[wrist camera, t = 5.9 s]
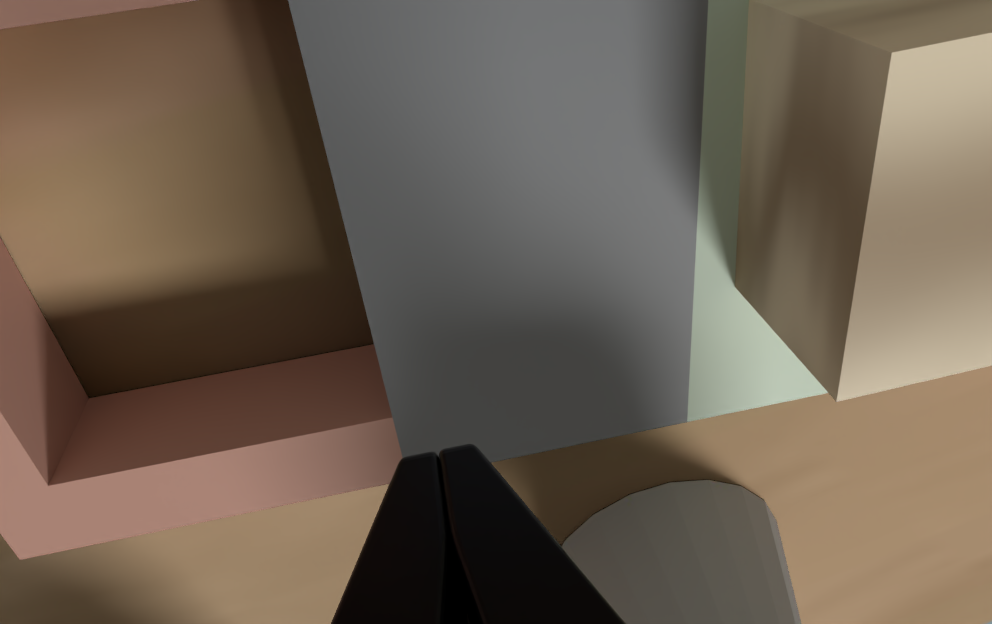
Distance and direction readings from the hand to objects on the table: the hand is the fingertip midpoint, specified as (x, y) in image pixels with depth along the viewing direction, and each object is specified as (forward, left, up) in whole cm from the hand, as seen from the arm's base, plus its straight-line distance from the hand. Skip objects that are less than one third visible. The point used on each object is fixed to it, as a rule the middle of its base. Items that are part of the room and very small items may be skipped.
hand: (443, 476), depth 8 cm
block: (0, -10, -7) cm, 12 cm away
